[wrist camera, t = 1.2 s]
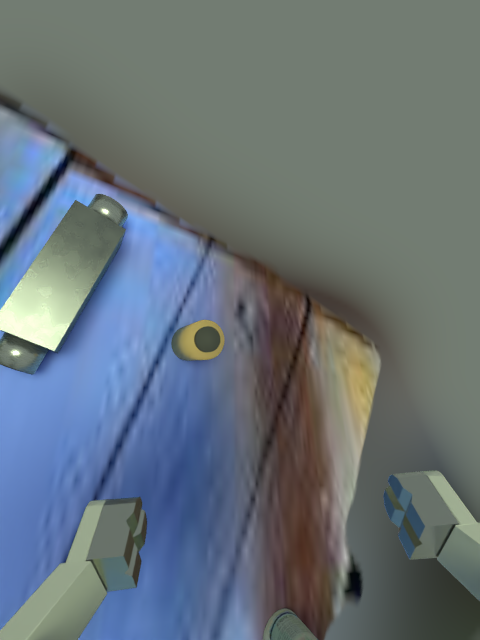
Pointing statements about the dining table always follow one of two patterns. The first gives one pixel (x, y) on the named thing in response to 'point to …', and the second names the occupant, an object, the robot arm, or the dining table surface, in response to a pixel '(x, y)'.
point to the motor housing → (60, 283)
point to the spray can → (286, 627)
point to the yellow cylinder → (198, 341)
